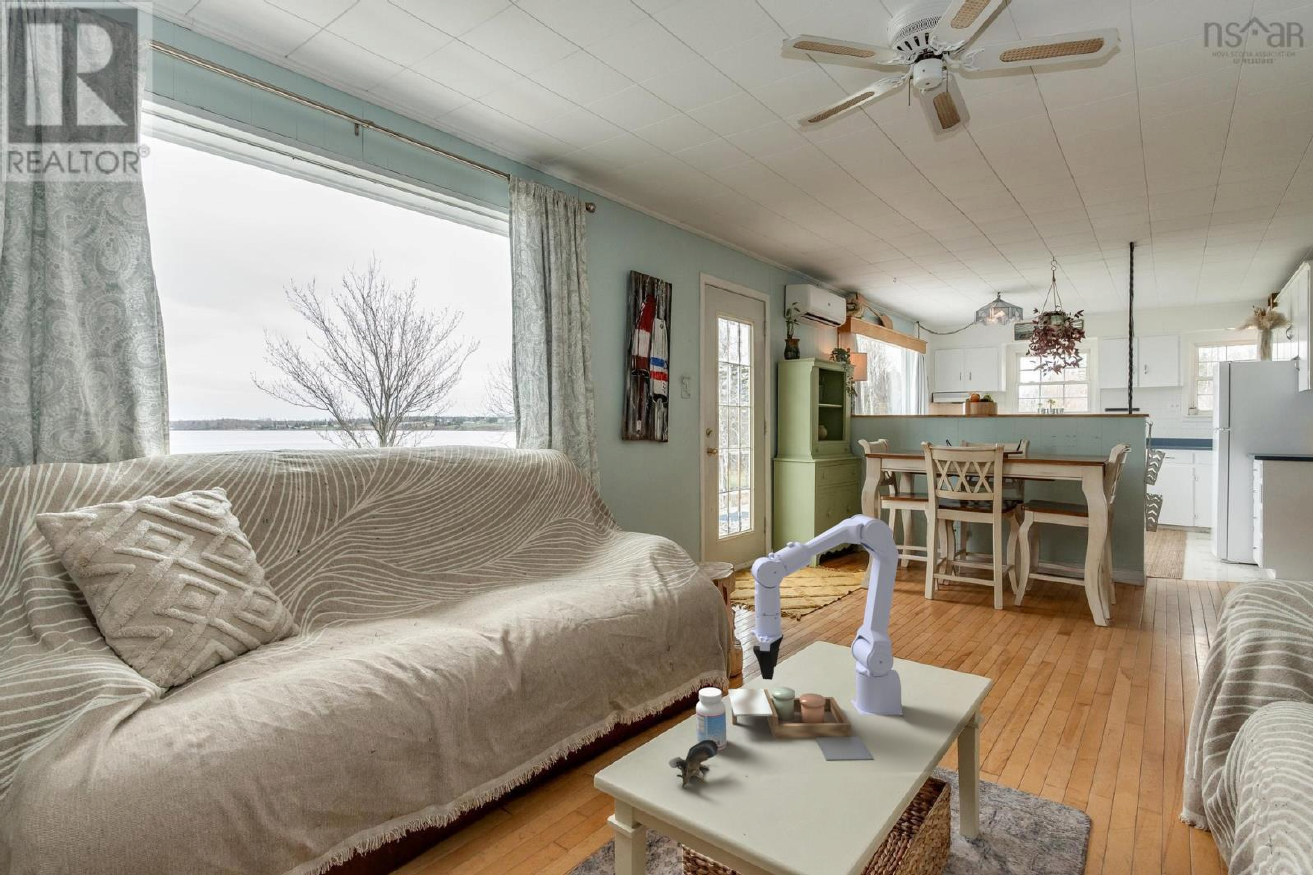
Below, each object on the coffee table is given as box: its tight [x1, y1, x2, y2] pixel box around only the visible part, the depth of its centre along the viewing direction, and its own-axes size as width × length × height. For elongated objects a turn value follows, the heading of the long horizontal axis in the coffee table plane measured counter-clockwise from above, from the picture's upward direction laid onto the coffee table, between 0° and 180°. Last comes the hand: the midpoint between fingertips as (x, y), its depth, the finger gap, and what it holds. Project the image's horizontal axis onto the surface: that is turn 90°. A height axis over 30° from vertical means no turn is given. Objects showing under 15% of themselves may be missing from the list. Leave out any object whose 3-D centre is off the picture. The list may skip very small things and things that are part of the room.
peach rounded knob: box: [799, 692, 825, 723], centre depth 139 cm, size 5×5×6 cm
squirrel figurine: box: [668, 740, 719, 788], centre depth 120 cm, size 8×7×9 cm
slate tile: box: [814, 735, 874, 762], centre depth 128 cm, size 9×9×1 cm
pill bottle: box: [695, 687, 727, 751], centre depth 132 cm, size 6×6×11 cm
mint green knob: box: [771, 686, 796, 720], centre depth 143 cm, size 5×5×6 cm
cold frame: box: [727, 688, 852, 739], centre depth 140 cm, size 24×14×5 cm, turn 89°
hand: (769, 672), depth 145 cm, fingers open, 7 cm apart
